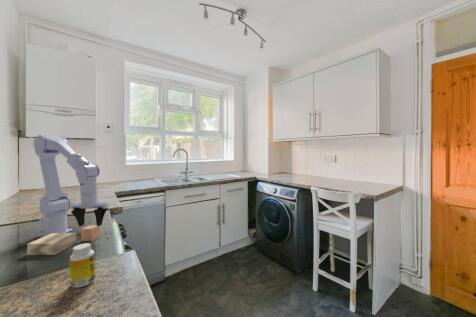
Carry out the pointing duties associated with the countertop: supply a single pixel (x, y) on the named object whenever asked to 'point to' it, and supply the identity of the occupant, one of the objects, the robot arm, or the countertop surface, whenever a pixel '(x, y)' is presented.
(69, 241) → the base
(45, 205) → the robot arm
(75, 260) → the supplement bottle
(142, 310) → the countertop surface
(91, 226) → the block
